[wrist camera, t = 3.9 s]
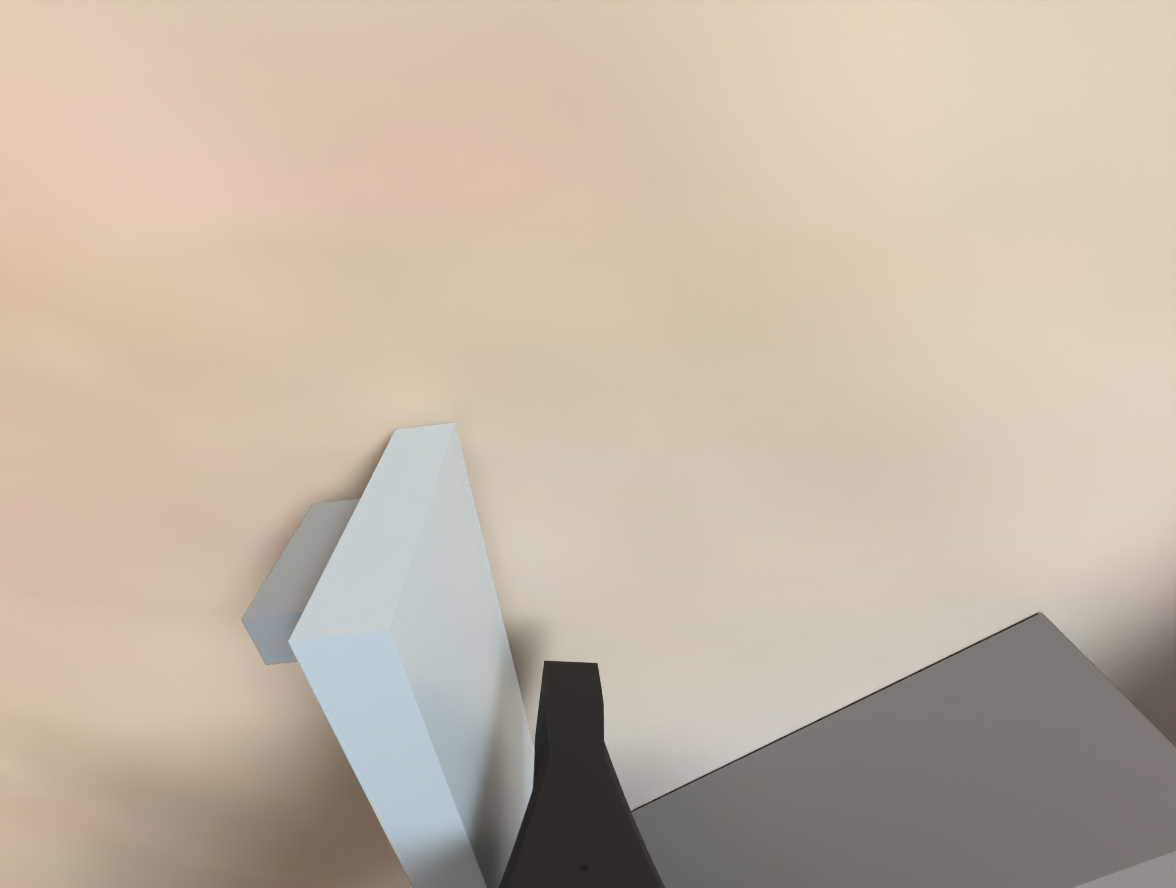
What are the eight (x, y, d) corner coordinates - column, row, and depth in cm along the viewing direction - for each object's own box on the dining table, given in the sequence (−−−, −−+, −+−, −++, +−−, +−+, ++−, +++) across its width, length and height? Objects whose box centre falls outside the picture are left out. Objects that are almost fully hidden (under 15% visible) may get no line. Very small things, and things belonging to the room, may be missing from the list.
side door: (324, 437, 10) (167, 656, 6) (455, 422, 10) (388, 630, 6) (483, 866, 16) (462, 1100, 13) (560, 858, 16) (563, 1089, 13)
